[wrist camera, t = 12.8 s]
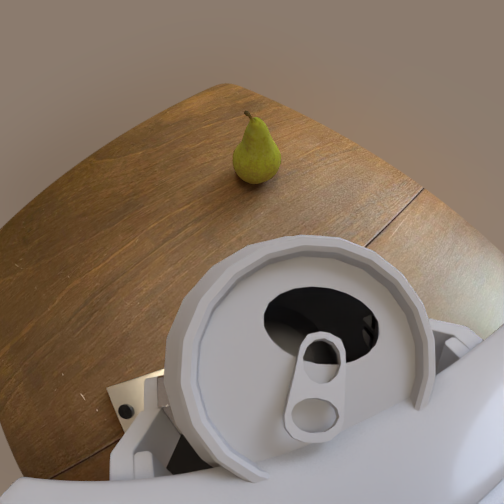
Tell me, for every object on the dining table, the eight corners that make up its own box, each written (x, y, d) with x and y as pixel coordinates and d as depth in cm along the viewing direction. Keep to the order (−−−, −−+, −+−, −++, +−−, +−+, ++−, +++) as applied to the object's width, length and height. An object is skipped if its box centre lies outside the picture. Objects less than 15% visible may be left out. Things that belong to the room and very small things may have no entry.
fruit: (283, 168, 39) (299, 100, 28) (266, 201, 37) (279, 132, 26) (244, 153, 39) (249, 83, 28) (224, 184, 37) (222, 113, 26)
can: (335, 318, 18) (458, 242, 7) (315, 434, 15) (427, 507, 4) (218, 295, 18) (195, 180, 7) (191, 413, 16) (119, 484, 4)
